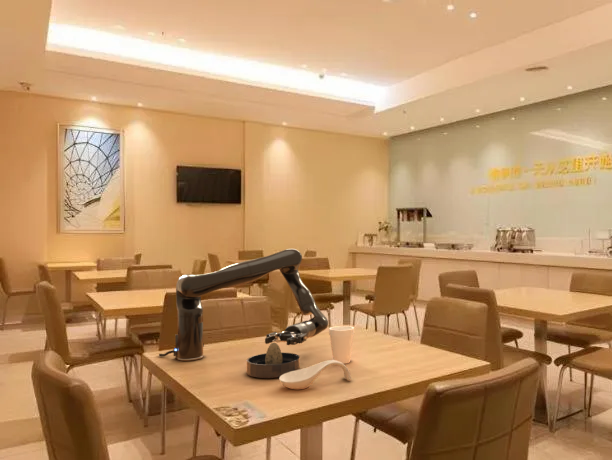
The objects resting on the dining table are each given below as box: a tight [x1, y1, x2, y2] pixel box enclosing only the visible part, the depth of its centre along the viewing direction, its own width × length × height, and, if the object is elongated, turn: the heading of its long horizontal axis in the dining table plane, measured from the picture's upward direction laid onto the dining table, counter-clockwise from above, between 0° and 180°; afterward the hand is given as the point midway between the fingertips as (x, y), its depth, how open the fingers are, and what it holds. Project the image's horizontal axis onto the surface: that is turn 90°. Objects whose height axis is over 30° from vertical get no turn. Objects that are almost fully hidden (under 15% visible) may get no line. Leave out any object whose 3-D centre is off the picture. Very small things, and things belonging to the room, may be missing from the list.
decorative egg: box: [265, 342, 282, 365], centre depth 190 cm, size 6×6×10 cm
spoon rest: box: [278, 359, 352, 390], centre depth 175 cm, size 24×12×7 cm, turn 120°
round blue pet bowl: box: [246, 351, 301, 379], centre depth 190 cm, size 18×18×5 cm
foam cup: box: [328, 325, 355, 365], centre depth 205 cm, size 10×9×13 cm
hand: (276, 341), depth 192 cm, fingers open, 8 cm apart
